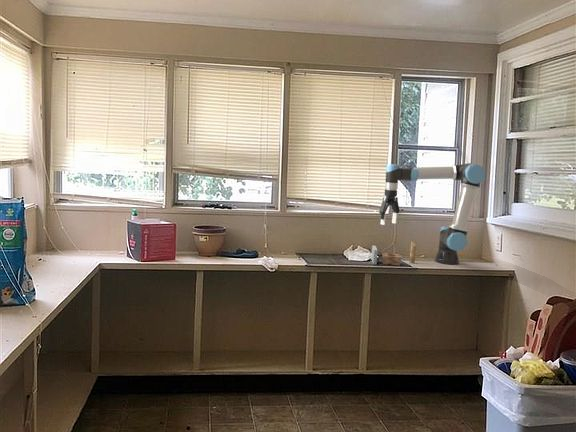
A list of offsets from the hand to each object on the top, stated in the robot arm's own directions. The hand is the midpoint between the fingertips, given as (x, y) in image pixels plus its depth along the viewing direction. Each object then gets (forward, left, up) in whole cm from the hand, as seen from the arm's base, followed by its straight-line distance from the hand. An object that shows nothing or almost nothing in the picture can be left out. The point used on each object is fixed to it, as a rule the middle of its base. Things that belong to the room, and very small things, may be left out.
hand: (388, 224), depth 374 cm
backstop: (+8, +5, -24) cm, 25 cm away
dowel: (-17, -3, -24) cm, 29 cm away
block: (-3, +5, -24) cm, 24 cm away
